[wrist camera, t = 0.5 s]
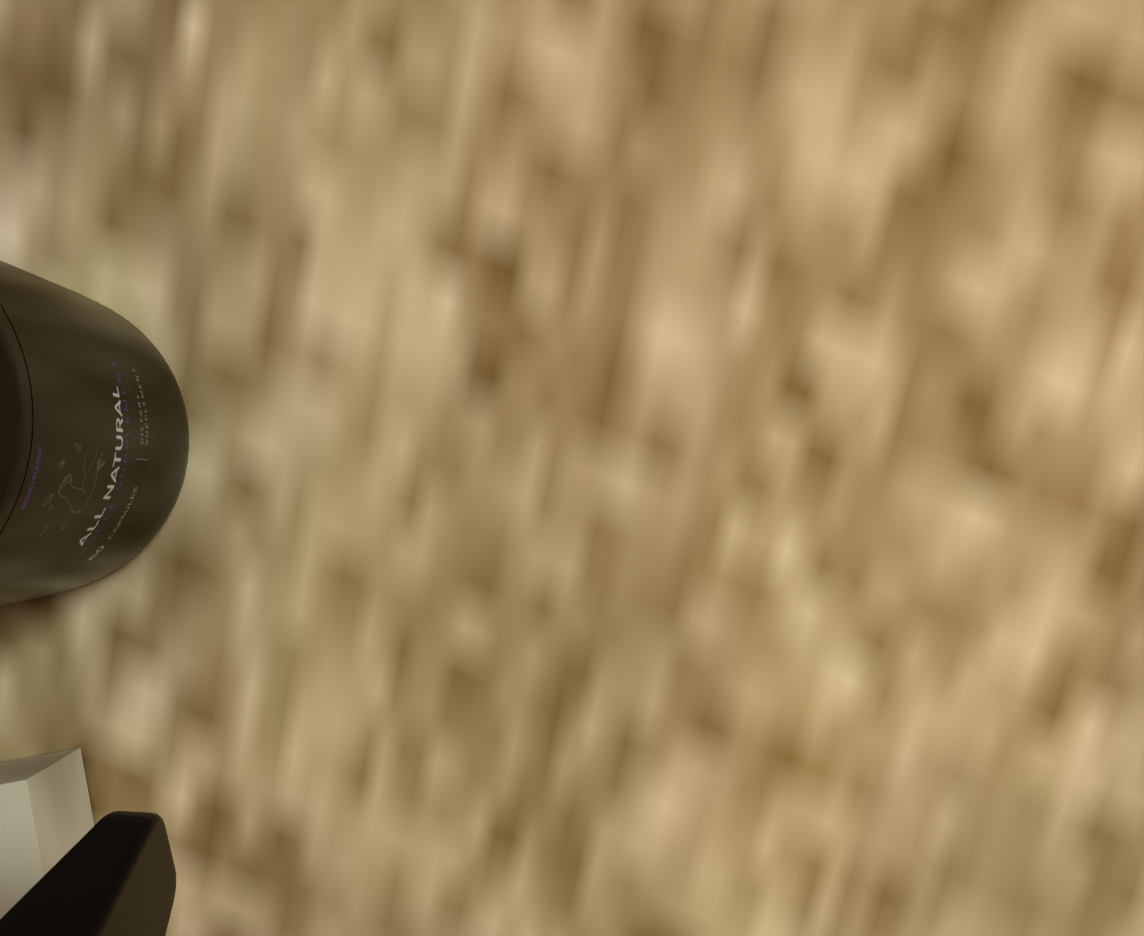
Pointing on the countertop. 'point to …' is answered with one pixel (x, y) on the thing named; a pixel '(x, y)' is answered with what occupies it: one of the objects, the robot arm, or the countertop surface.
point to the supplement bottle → (79, 439)
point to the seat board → (39, 818)
